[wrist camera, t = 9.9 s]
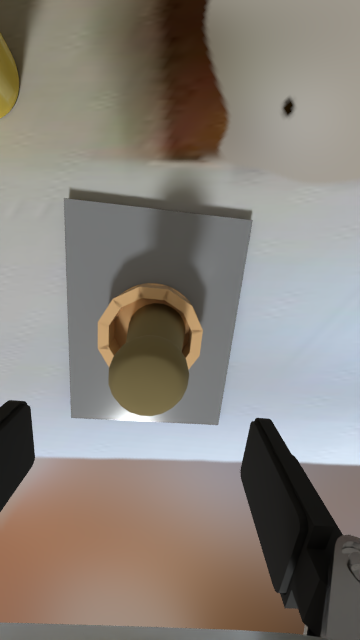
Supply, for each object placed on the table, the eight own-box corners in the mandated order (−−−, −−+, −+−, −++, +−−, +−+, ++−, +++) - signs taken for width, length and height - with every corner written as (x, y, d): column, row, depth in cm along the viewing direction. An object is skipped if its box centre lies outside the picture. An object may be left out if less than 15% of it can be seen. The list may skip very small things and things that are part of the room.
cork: (116, 327, 23) (71, 385, 13) (159, 290, 22) (151, 319, 12) (154, 367, 25) (142, 449, 14) (196, 334, 24) (218, 394, 13)
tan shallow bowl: (203, 287, 23) (209, 292, 20) (192, 373, 26) (196, 388, 23) (106, 278, 23) (96, 281, 19) (105, 367, 25) (96, 382, 22)
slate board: (248, 221, 23) (252, 220, 22) (216, 419, 29) (218, 425, 28) (68, 200, 21) (63, 198, 21) (74, 412, 28) (71, 417, 27)
